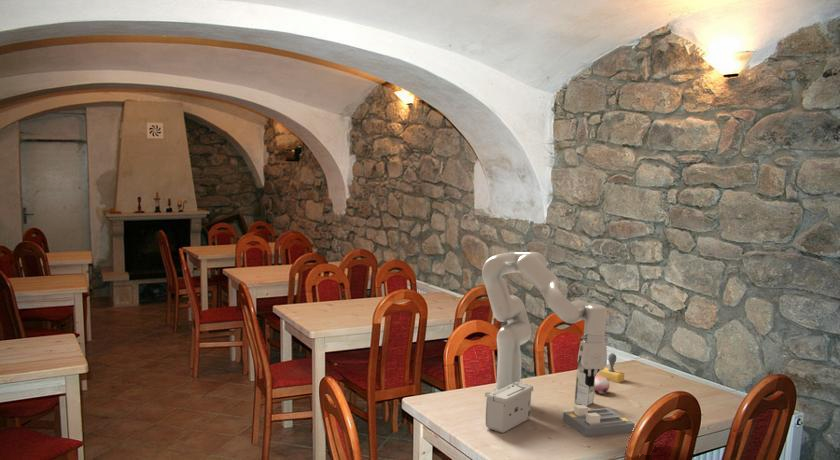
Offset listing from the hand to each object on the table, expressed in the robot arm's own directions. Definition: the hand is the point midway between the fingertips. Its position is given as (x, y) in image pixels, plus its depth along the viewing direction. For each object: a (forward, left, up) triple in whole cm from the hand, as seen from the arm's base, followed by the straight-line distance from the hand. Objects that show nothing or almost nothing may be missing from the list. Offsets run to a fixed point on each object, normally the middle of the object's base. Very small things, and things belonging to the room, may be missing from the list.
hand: (589, 385), depth 246 cm
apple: (+24, +27, -14) cm, 39 cm away
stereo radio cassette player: (-30, +4, -14) cm, 34 cm away
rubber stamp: (+40, +42, -14) cm, 60 cm away
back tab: (-3, -1, -11) cm, 11 cm away
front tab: (-3, -9, -11) cm, 14 cm away
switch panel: (+2, -5, -14) cm, 15 cm away
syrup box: (+10, +17, -14) cm, 24 cm away
